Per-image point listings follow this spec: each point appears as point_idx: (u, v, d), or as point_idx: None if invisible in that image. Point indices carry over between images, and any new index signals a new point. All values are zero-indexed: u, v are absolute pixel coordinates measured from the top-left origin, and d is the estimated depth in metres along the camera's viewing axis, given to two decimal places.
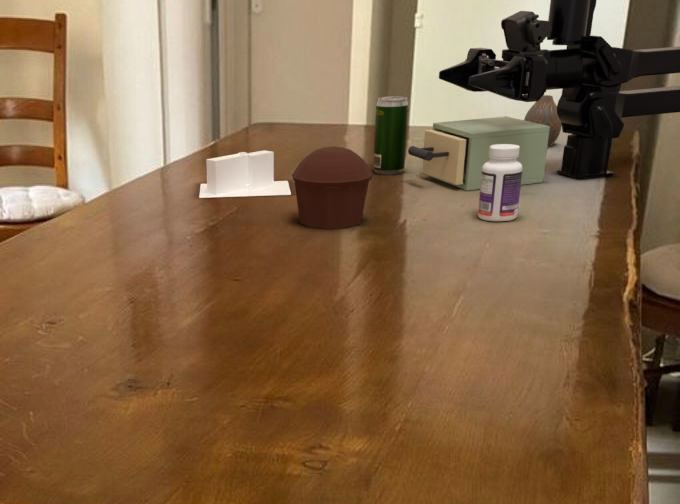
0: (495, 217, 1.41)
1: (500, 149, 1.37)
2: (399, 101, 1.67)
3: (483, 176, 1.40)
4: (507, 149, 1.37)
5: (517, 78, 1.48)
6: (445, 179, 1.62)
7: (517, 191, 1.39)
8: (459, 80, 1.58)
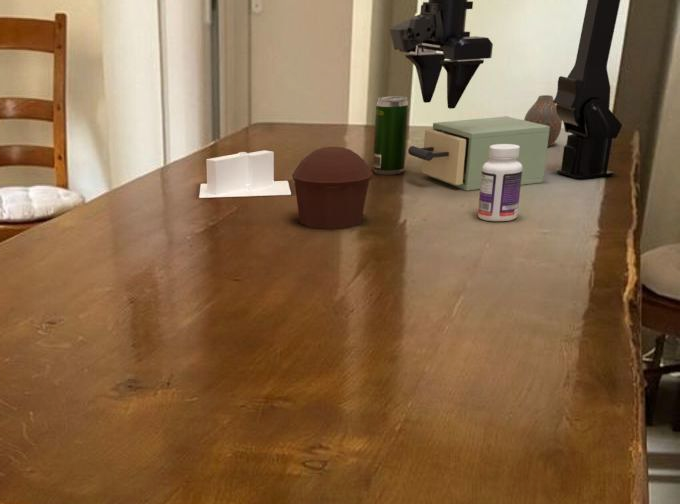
0: (495, 217, 1.41)
1: (500, 149, 1.37)
2: (399, 101, 1.67)
3: (483, 176, 1.40)
4: (507, 149, 1.37)
5: None
6: (445, 179, 1.62)
7: (517, 191, 1.39)
8: (434, 77, 1.60)
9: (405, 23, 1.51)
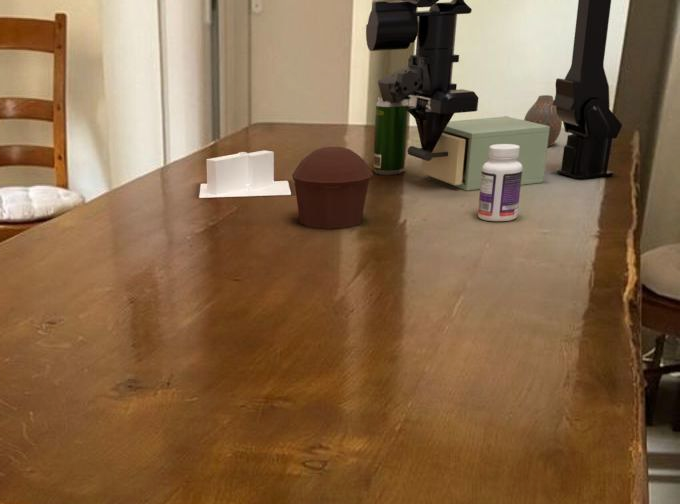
0: (495, 217, 1.41)
1: (500, 149, 1.37)
2: None
3: (483, 176, 1.40)
4: (507, 149, 1.37)
5: None
6: (444, 179, 1.62)
7: (517, 191, 1.39)
8: None
9: (393, 76, 1.55)
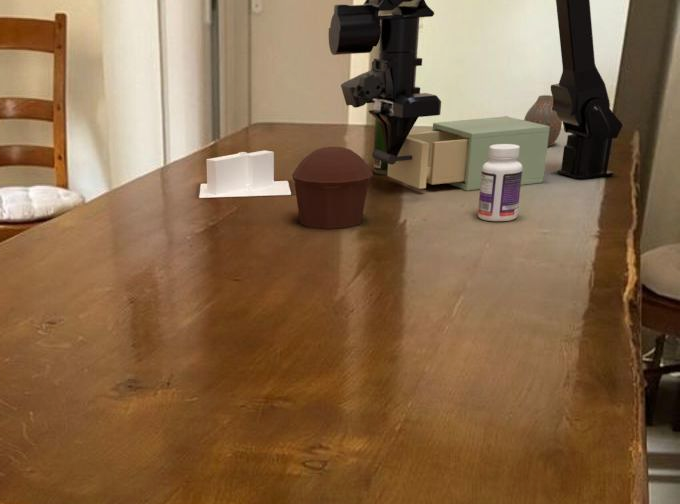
0: (495, 217, 1.41)
1: (500, 149, 1.37)
2: None
3: (483, 176, 1.40)
4: (507, 149, 1.37)
5: None
6: (409, 183, 1.60)
7: (517, 191, 1.39)
8: None
9: (356, 80, 1.53)
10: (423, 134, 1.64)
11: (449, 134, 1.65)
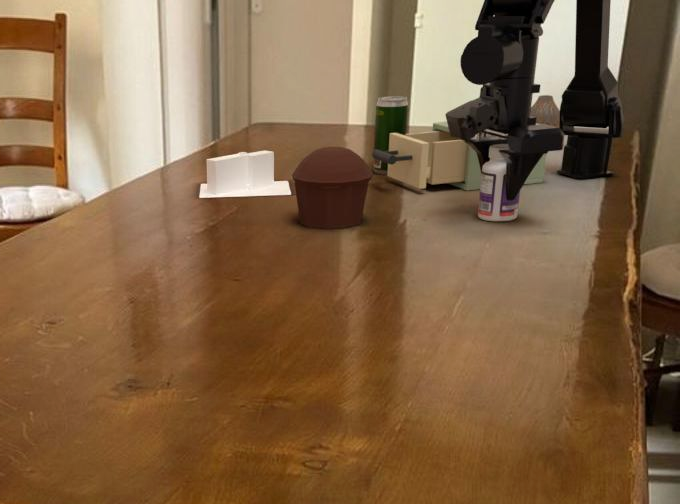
0: (495, 217, 1.41)
1: (500, 149, 1.37)
2: (399, 101, 1.67)
3: (483, 176, 1.40)
4: None
5: None
6: (409, 183, 1.60)
7: None
8: None
9: (463, 109, 1.35)
10: (423, 134, 1.64)
11: (449, 134, 1.65)
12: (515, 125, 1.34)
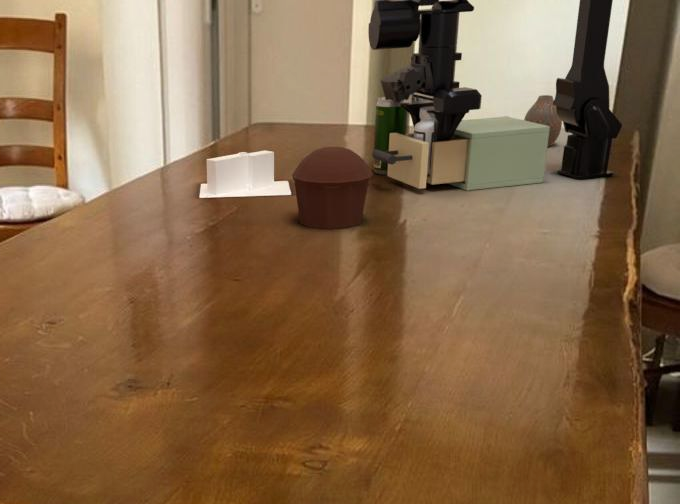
0: None
1: None
2: (399, 101, 1.67)
3: (415, 134, 1.60)
4: None
5: None
6: (409, 183, 1.60)
7: None
8: None
9: (395, 75, 1.55)
10: None
11: None
12: (440, 88, 1.54)
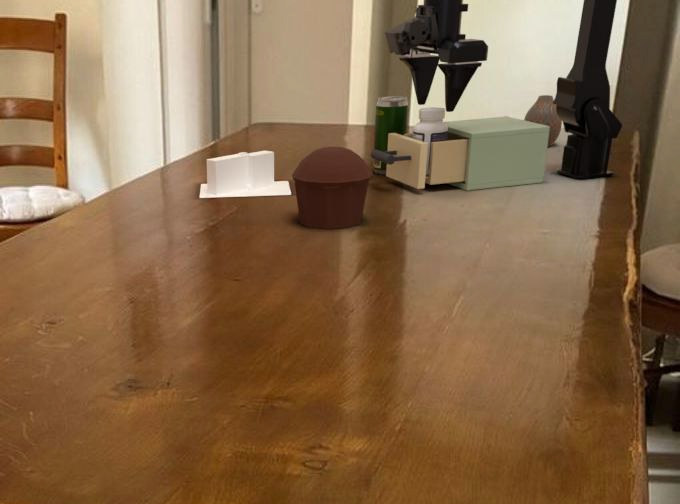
0: None
1: (427, 111, 1.57)
2: (399, 101, 1.67)
3: (414, 135, 1.60)
4: (433, 111, 1.57)
5: None
6: (408, 183, 1.60)
7: None
8: (428, 79, 1.60)
9: (400, 26, 1.51)
10: None
11: (448, 134, 1.65)
12: (446, 41, 1.51)
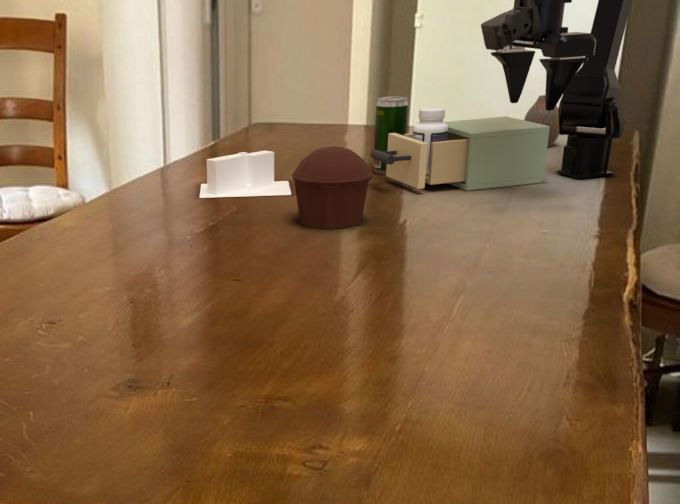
0: None
1: (427, 111, 1.57)
2: (399, 101, 1.67)
3: (414, 135, 1.60)
4: (433, 111, 1.57)
5: None
6: (408, 183, 1.60)
7: None
8: (522, 76, 1.50)
9: (498, 19, 1.41)
10: None
11: (448, 134, 1.65)
12: (548, 34, 1.40)
